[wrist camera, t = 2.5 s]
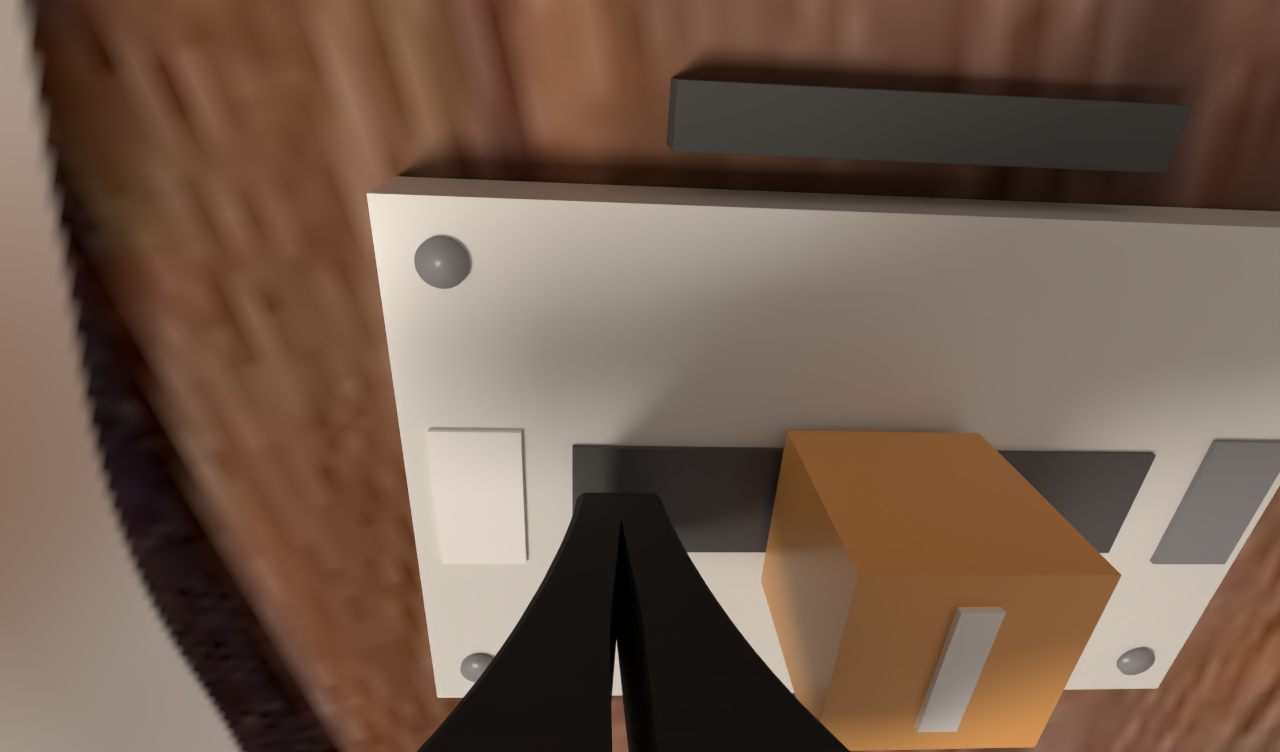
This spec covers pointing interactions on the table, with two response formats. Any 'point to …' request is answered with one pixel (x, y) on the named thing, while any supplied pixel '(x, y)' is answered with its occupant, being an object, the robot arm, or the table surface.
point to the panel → (820, 379)
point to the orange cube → (925, 590)
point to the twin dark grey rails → (921, 126)
